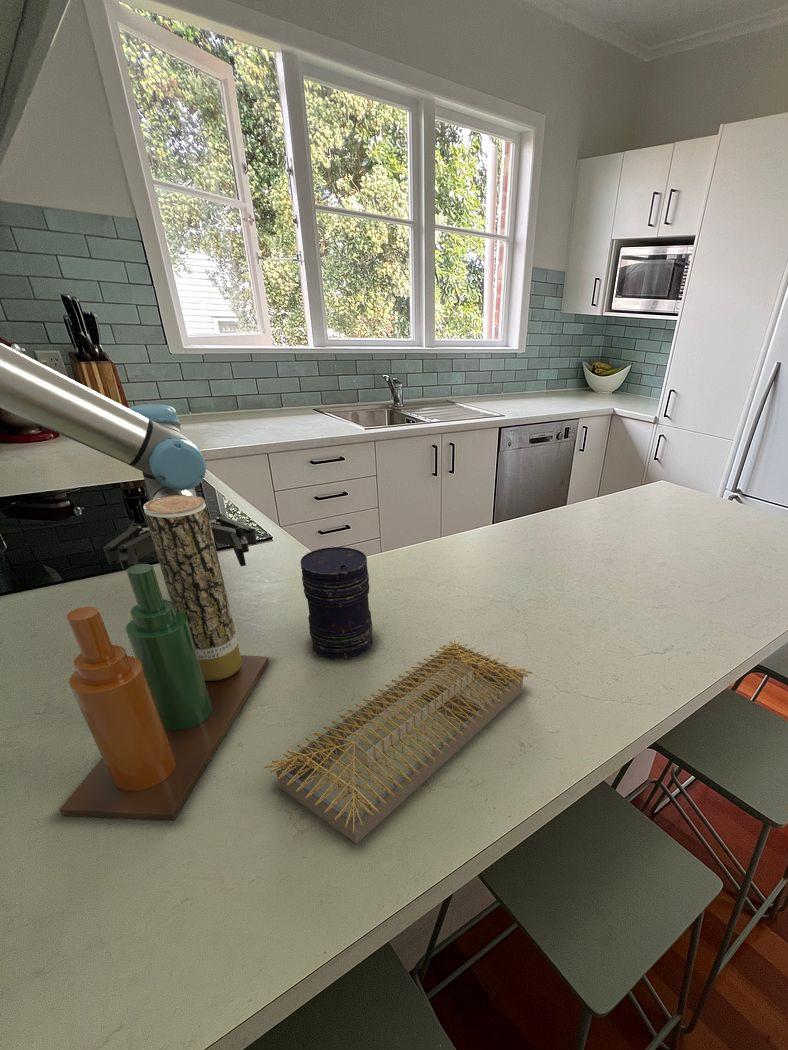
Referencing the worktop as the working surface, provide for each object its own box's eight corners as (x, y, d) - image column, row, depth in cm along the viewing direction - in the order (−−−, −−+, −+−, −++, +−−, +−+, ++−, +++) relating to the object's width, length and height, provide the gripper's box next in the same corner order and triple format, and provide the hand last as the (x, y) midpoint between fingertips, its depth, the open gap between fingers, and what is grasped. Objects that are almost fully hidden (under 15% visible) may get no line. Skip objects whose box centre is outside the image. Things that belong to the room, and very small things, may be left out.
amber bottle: (101, 790, 60) (24, 629, 49) (133, 749, 65) (70, 595, 54) (159, 792, 60) (95, 632, 49) (186, 751, 66) (134, 598, 54)
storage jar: (301, 639, 89) (288, 556, 81) (354, 622, 95) (347, 542, 87) (329, 668, 83) (318, 580, 75) (384, 647, 88) (380, 563, 80)
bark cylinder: (251, 669, 80) (215, 504, 67) (206, 689, 76) (157, 517, 62) (229, 651, 84) (190, 491, 70) (184, 669, 79) (133, 502, 66)
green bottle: (148, 729, 68) (92, 579, 57) (173, 697, 74) (126, 555, 63) (199, 731, 69) (153, 582, 57) (220, 699, 74) (182, 558, 63)
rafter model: (453, 656, 87) (454, 623, 84) (530, 691, 80) (534, 657, 77) (268, 788, 63) (259, 749, 59) (356, 854, 56) (351, 814, 53)
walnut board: (62, 815, 58) (58, 809, 58) (191, 658, 83) (189, 652, 83) (174, 820, 58) (172, 814, 58) (269, 661, 84) (268, 656, 83)
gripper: (259, 527, 98) (285, 574, 83) (98, 548, 88) (93, 606, 72) (252, 486, 94) (278, 527, 79) (82, 503, 84) (73, 554, 68)
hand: (189, 565), depth 76 cm, fingers open, 13 cm apart
